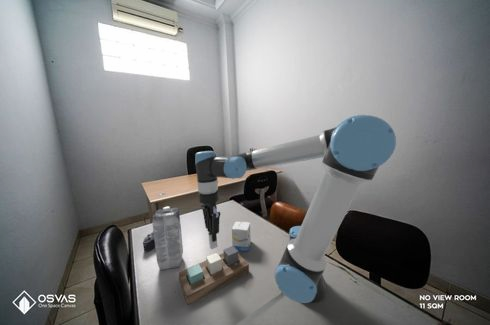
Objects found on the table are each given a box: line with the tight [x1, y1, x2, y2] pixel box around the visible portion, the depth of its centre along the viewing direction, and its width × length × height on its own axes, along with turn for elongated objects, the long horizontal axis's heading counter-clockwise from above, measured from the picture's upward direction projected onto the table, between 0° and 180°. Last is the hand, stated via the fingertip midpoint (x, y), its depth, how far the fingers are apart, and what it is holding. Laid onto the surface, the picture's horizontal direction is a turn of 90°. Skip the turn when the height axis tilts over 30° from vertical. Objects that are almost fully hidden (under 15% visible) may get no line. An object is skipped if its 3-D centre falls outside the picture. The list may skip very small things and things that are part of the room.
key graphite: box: [223, 245, 239, 267], centre depth 76 cm, size 5×5×5 cm
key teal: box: [186, 263, 204, 286], centre depth 68 cm, size 5×5×5 cm
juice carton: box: [151, 206, 184, 271], centre depth 79 cm, size 9×10×27 cm
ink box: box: [231, 221, 252, 252], centre depth 91 cm, size 9×8×12 cm
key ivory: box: [205, 252, 222, 276], centre depth 72 cm, size 5×5×5 cm
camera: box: [142, 231, 155, 253], centre depth 94 cm, size 16×8×10 cm, turn 160°
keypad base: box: [178, 252, 250, 305], centre depth 73 cm, size 13×26×4 cm, turn 123°
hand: (213, 247), depth 70 cm, fingers closed
